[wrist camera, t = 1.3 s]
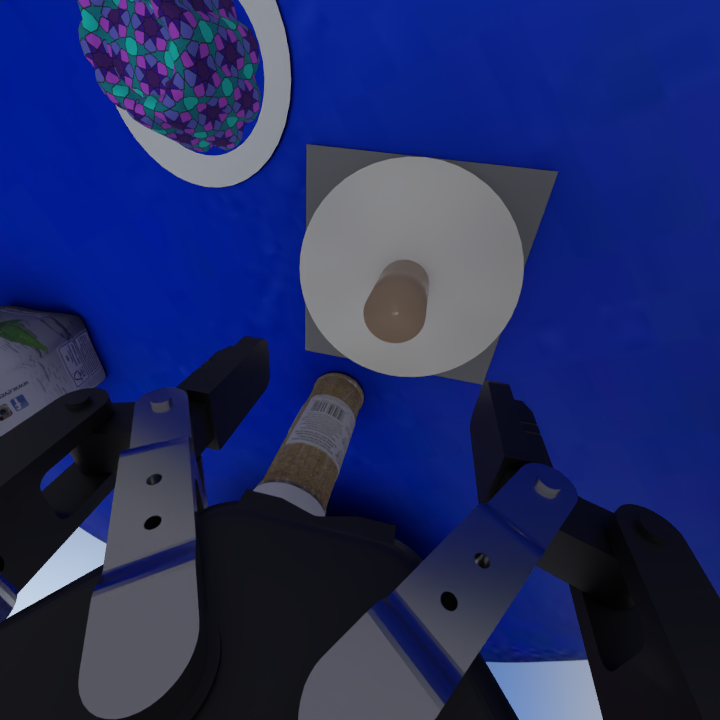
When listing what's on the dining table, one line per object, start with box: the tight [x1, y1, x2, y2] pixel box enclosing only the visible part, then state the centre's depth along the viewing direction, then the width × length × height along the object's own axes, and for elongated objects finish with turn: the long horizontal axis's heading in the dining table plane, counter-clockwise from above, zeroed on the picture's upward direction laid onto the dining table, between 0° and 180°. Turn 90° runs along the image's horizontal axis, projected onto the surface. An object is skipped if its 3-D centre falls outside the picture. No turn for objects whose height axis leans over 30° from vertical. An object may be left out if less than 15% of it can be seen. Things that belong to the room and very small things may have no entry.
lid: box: [300, 157, 524, 377], centre depth 20 cm, size 14×14×6 cm
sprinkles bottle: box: [253, 373, 364, 516], centre depth 23 cm, size 5×4×14 cm
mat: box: [305, 144, 558, 385], centre depth 23 cm, size 14×14×1 cm
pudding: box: [78, 0, 291, 187], centre depth 17 cm, size 12×12×5 cm
